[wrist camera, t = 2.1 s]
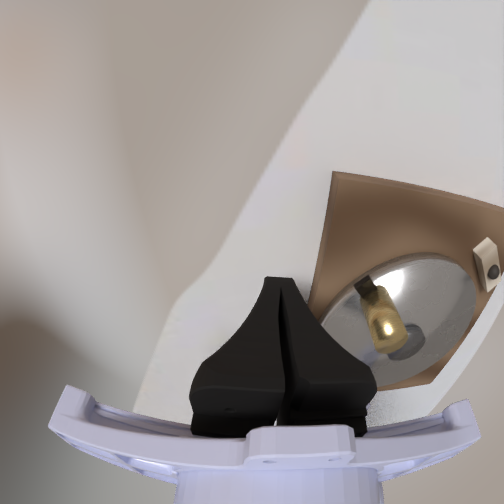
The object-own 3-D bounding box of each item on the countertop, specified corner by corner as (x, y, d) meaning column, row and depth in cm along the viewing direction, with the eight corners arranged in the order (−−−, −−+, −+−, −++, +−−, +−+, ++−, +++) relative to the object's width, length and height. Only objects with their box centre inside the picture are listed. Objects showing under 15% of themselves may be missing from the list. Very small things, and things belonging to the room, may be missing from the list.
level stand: (426, 373, 24) (435, 396, 21) (287, 382, 24) (287, 412, 22) (513, 211, 14) (538, 231, 11) (332, 170, 14) (349, 191, 11)
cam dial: (476, 321, 17) (498, 360, 13) (359, 391, 22) (367, 433, 18) (442, 203, 13) (490, 245, 9) (269, 321, 18) (268, 381, 14)
